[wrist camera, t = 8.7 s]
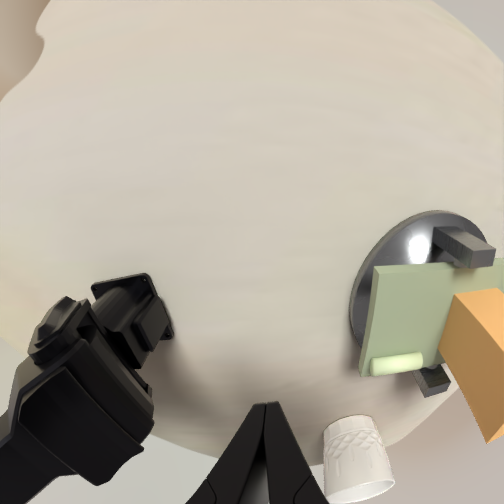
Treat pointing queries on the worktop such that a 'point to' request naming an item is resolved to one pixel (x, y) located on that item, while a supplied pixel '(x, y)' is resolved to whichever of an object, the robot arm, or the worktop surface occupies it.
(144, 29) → the worktop surface
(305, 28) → the worktop surface
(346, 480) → the white cup
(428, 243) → the base
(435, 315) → the orange and green block
